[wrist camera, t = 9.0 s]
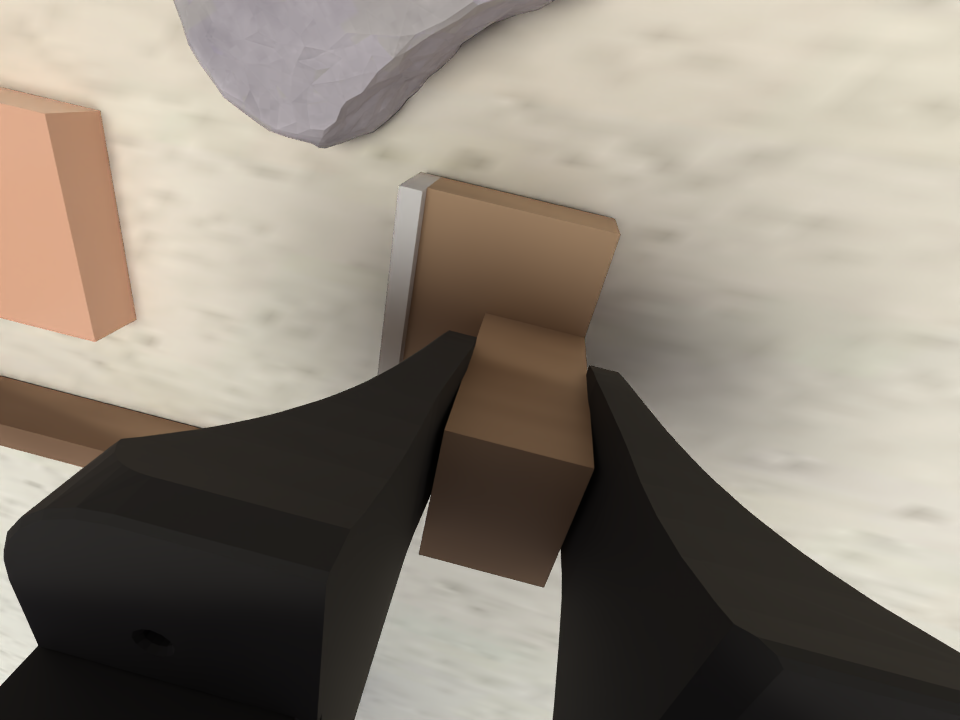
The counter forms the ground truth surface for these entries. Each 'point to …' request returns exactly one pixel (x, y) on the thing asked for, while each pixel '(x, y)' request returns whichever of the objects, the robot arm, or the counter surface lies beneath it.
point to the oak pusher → (501, 363)
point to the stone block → (330, 56)
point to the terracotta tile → (59, 220)
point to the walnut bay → (69, 423)
